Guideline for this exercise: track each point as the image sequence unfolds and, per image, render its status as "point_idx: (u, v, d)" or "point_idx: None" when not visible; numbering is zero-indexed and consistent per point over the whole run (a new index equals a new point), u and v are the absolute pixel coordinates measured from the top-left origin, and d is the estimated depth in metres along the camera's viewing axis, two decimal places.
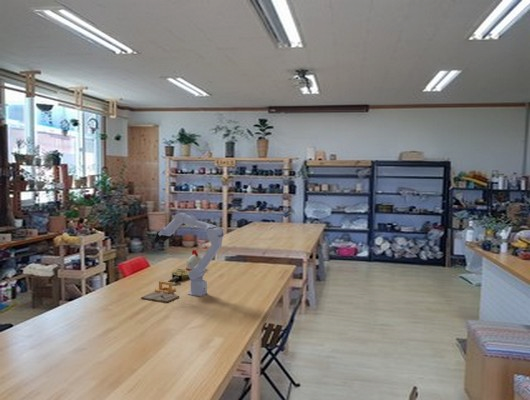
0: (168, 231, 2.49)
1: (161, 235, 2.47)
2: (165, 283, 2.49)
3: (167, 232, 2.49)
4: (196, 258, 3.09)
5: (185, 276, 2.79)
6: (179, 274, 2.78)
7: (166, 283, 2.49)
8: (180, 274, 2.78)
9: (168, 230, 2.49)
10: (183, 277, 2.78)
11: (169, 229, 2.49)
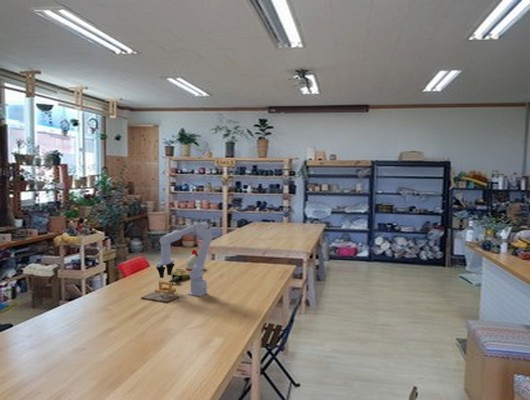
0: (164, 259, 2.46)
1: (161, 266, 2.44)
2: (165, 283, 2.49)
3: (164, 261, 2.46)
4: (196, 258, 3.09)
5: (185, 276, 2.79)
6: (179, 274, 2.78)
7: (166, 283, 2.49)
8: (180, 274, 2.78)
9: (164, 258, 2.46)
10: (183, 277, 2.78)
11: (164, 257, 2.46)
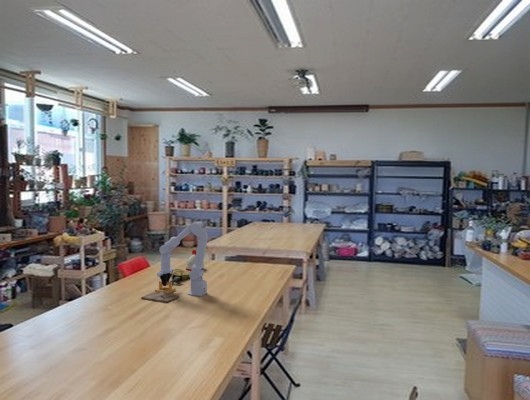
0: (164, 268, 2.47)
1: (161, 275, 2.44)
2: None
3: (164, 270, 2.47)
4: None
5: (185, 276, 2.80)
6: (179, 274, 2.78)
7: None
8: (180, 274, 2.78)
9: (164, 267, 2.47)
10: (183, 277, 2.78)
11: (164, 266, 2.47)
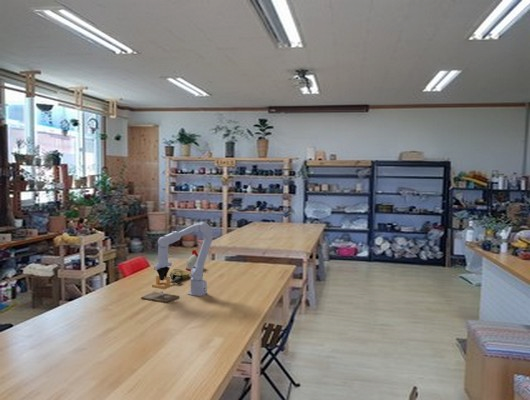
0: (162, 262, 2.36)
1: (158, 269, 2.33)
2: None
3: (161, 263, 2.36)
4: (196, 258, 3.09)
5: (185, 276, 2.80)
6: (179, 274, 2.78)
7: (164, 278, 2.38)
8: (180, 274, 2.78)
9: (161, 261, 2.36)
10: (183, 277, 2.78)
11: (161, 259, 2.36)
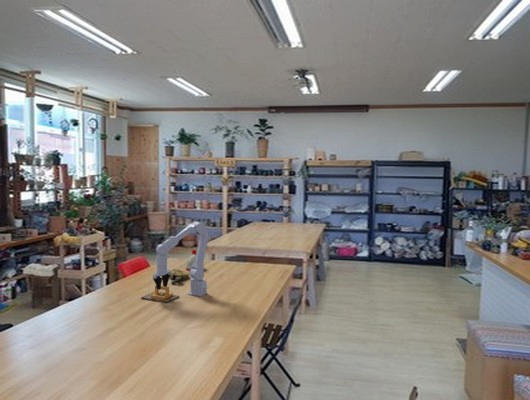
0: (161, 270, 2.32)
1: (157, 277, 2.29)
2: (162, 288, 2.34)
3: (161, 271, 2.32)
4: None
5: (185, 276, 2.80)
6: (179, 274, 2.78)
7: (163, 288, 2.34)
8: (180, 274, 2.78)
9: (160, 269, 2.32)
10: (183, 277, 2.78)
11: (160, 267, 2.32)
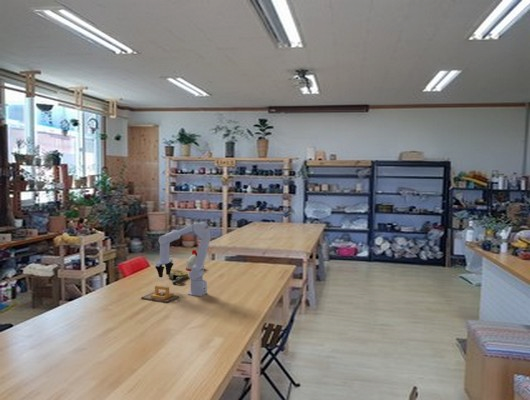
0: (163, 258, 2.47)
1: (160, 265, 2.45)
2: (162, 288, 2.34)
3: (163, 260, 2.47)
4: None
5: (185, 276, 2.80)
6: (179, 274, 2.78)
7: (163, 288, 2.34)
8: (180, 274, 2.78)
9: (163, 258, 2.47)
10: (184, 277, 2.79)
11: (163, 256, 2.47)
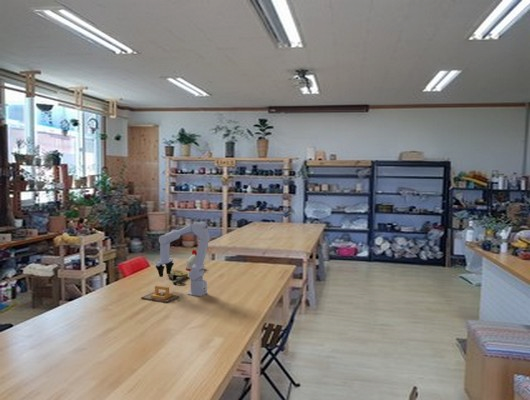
0: (164, 258, 2.49)
1: (160, 265, 2.46)
2: (162, 288, 2.34)
3: (164, 260, 2.49)
4: None
5: (185, 276, 2.80)
6: (179, 274, 2.78)
7: (163, 288, 2.34)
8: (180, 274, 2.78)
9: (163, 257, 2.49)
10: (184, 277, 2.79)
11: (163, 256, 2.49)
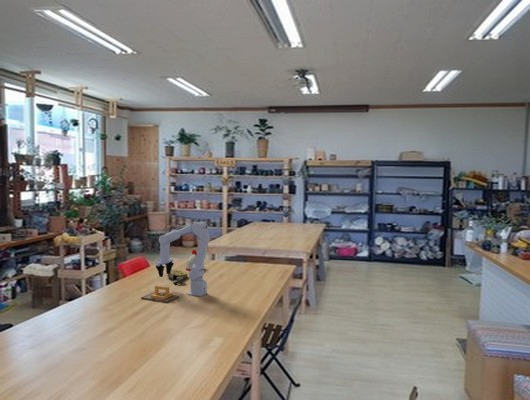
0: (164, 258, 2.49)
1: (160, 265, 2.46)
2: (162, 288, 2.34)
3: (164, 260, 2.49)
4: None
5: (185, 276, 2.81)
6: (179, 274, 2.78)
7: (163, 288, 2.34)
8: (180, 274, 2.78)
9: (163, 257, 2.49)
10: (184, 277, 2.79)
11: (163, 256, 2.49)
